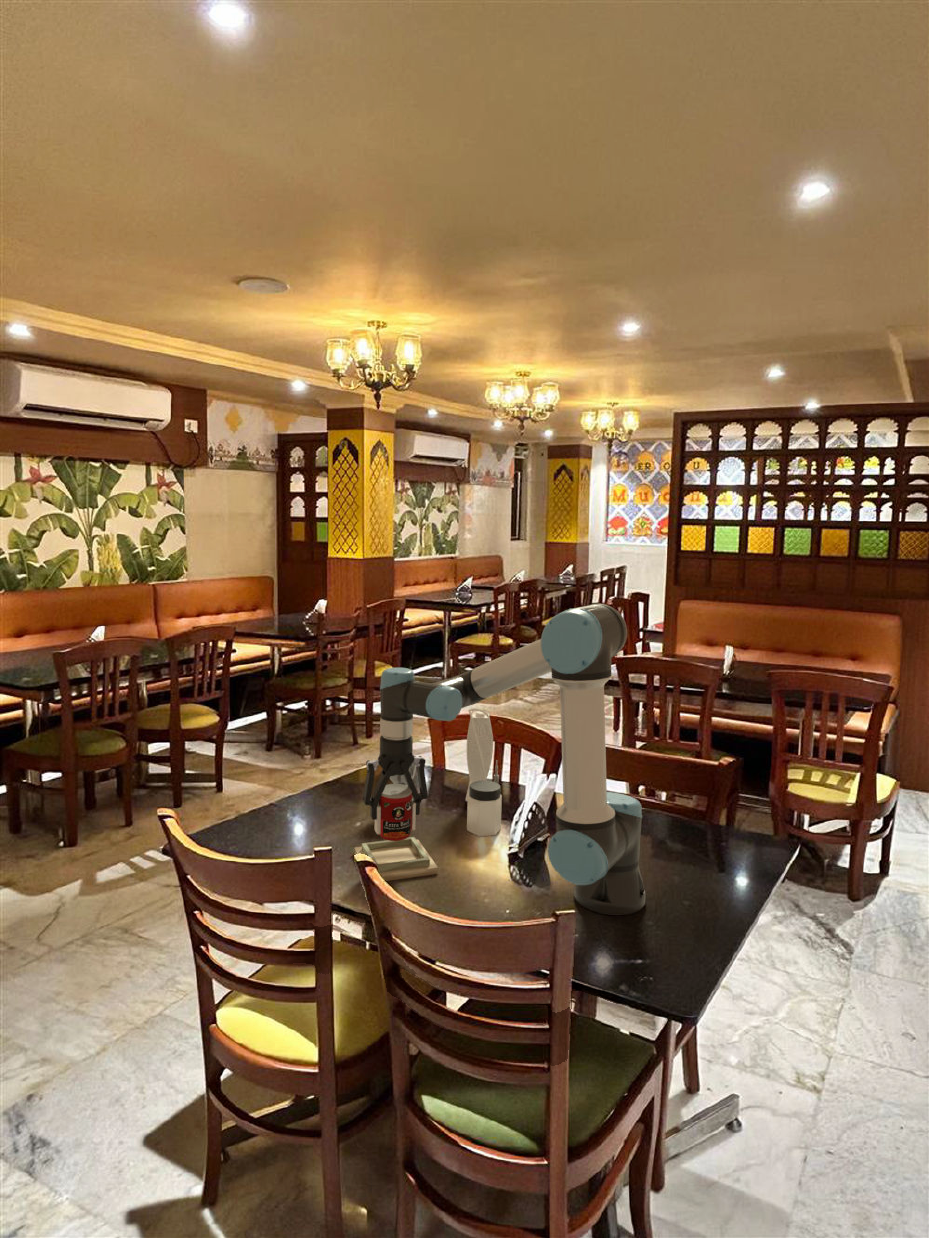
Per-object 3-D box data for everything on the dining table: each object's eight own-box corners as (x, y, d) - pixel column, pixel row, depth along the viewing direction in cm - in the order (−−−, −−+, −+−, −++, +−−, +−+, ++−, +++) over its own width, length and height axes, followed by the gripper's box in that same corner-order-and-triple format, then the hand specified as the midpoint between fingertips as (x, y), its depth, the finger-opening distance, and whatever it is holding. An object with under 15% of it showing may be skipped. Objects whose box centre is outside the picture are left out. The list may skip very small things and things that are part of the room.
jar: (507, 831, 209) (508, 787, 207) (483, 839, 203) (484, 794, 202) (484, 820, 215) (485, 777, 214) (460, 828, 210) (461, 784, 209)
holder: (437, 873, 184) (438, 861, 184) (369, 883, 179) (369, 870, 179) (418, 845, 199) (418, 833, 199) (354, 853, 194) (354, 841, 193)
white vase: (478, 810, 223) (480, 712, 219) (458, 801, 229) (461, 706, 225) (499, 803, 229) (502, 707, 225) (480, 795, 235) (483, 701, 231)
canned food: (381, 842, 183) (381, 796, 182) (375, 828, 191) (376, 784, 189) (414, 840, 185) (415, 794, 184) (407, 826, 193) (408, 782, 191)
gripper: (434, 727, 192) (432, 818, 195) (348, 734, 185) (348, 828, 188) (444, 736, 185) (441, 831, 188) (355, 743, 178) (354, 841, 181)
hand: (394, 829), depth 188 cm, fingers closed on canned food, 8 cm apart
